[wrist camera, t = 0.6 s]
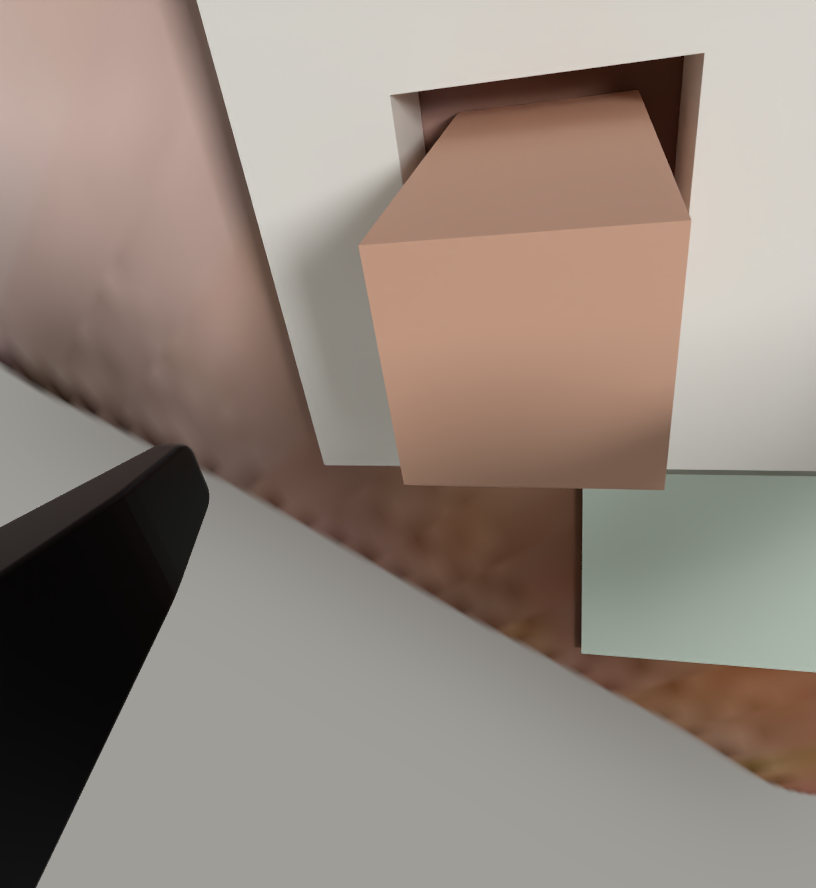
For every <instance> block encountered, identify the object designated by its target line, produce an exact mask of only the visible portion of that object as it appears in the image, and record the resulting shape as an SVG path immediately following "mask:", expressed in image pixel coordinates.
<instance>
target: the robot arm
mask: <svg viewBox="0 0 816 888" xmlns="http://www.w3.org/2000/svg"><path fill="white" fill-rule="evenodd" d="M208 504H209V490H208V487H207V484H206V482H205V480H204V477H203V475H202V472H201V470H200V467H199V465H198V462H197V460H196V458H195V455H194V453H193V451H192V450H191V449H190V448H189V447H188V446H187V445H184V444H160V445H157V446H154V447H153V448H151V449H149V450H147V451H145V452H143V453H141V454H140V455H137V456H135V457H134V458H132V459H130V460H128V461H126V462H124V463H122V464H120V465H118V466H116V467H115V468H113V469H111V470H109V471H107V472H105V473H103V474H101V475H99V476H98V477H95V478H94V479H92V480H90V481H88V482H86V483H84V484H82V485H80V486H78V487H76V488H74V489H72V490H71V491H69V492H67V493H65V494H63V495H61V496H59V497H57V498H55V499H53V500H52V501H50V502H48V503H46V504H44V505H42V506H40V507H38V508H36V509H34V510H32V511H30V512H29V513H27V514H25V515H23V516H21V517H19V518H17V519H15V520H13V521H12V522H10V523H8V524H6V525H4V526H2V527H0V888H36V886H37V884H38V882H39V880H40V878H41V876H42V874H43V872H44V870H45V868H46V866H47V864H48V862H49V859H50V857H51V855H52V853H53V851H54V849H55V847H56V845H57V843H58V841H59V839H60V836H61V834H62V832H63V830H64V828H65V826H66V824H67V822H68V820H69V818H70V816H71V814H72V812H73V809H74V807H75V805H76V803H77V801H78V799H79V797H80V795H81V793H82V791H83V788H84V787H85V784H86V782H87V780H88V778H89V776H90V774H91V772H92V770H93V768H94V766H95V763H96V762H97V759H98V757H99V755H100V753H101V751H102V749H103V747H104V745H105V743H106V741H107V739H108V736H109V734H110V732H111V730H112V728H113V726H114V724H115V722H116V720H117V718H118V716H119V714H120V711H121V709H122V707H123V705H124V703H125V701H126V699H127V697H128V695H129V692H130V691H131V689H132V686H133V684H134V682H135V680H136V678H137V676H138V674H139V672H140V670H141V668H142V666H143V663H144V661H145V659H146V657H147V655H148V653H149V651H150V649H151V647H152V645H153V643H154V640H155V639H156V636H157V634H158V632H159V630H160V628H161V626H162V624H163V622H164V620H165V617H166V615H167V613H168V611H169V609H170V607H171V605H172V603H173V600H174V598H175V595H176V593H177V591H178V588H179V585H180V583H181V580H182V578H183V575H184V572H185V569H186V566H187V564H188V560H189V558H190V555H191V552H192V549H193V547H194V544H195V541H196V538H197V535H198V533H199V530H200V527H201V524H202V521H203V519H204V516H205V513H206V510H207V508H208Z"/></svg>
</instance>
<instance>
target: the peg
mask: <svg viewBox="0 0 816 888" xmlns="http://www.w3.org/2000/svg"><path fill="white" fill-rule="evenodd" d="M690 230H691V218H690V215H689V213H688V210H687V208H686V205H685V203H684V201H683V198H682V196H681V193H680V191H679V188H678V186H677V183H676V181H675V179H674V176H673V174H672V171H671V169H670V166H669V164H668V161H667V159H666V157H665V154H664V152H663V149H662V147H661V144H660V142H659V139H658V137H657V135H656V132H655V130H654V127H653V125H652V122H651V120H650V117H649V115H648V113H647V110H646V108H645V105H644V103H643V100H642V98H641V95H640V93H639V91H638V90H634V91H626V92H618V93H610V94H602V95H594V96H586V97H578V98H570V99H561V100H553V101H545V102H537V103H529V104H521V105H513V106H505V107H497V108H489V109H481V110H473V111H465V112H458V114H457V115H456V116H455V118H454V119H453V120H452V121H451V123H450V124H449V125H448V127H447V128H446V129H445V131H444V132H443V133H442V135H441V136H440V137H439V139H438V140H437V141H436V143H435V144H434V145H433V147H432V148H431V149H430V151H429V152H428V153H427V155H426V156H425V157H424V159H423V160H422V161H421V163H420V164H419V165H418V167H417V168H416V169H415V171H414V172H413V173H412V175H411V176H410V177H409V179H408V180H407V181H406V183H405V184H404V185H403V187H402V188H401V189H400V191H399V192H398V193H397V195H396V196H395V197H394V199H393V200H392V201H391V203H390V204H389V205H388V207H387V208H386V209H385V211H384V212H383V213H382V214H381V216H380V217H379V218H378V220H377V221H376V222H375V224H374V225H373V226H372V228H371V229H370V230H369V232H368V233H367V234H366V236H365V237H364V238H363V240H362V241H361V242H360V244H359V245H358V247H359V252H360V257H361V263H362V268H363V273H364V278H365V283H366V289H367V294H368V299H369V304H370V310H371V315H372V320H373V325H374V330H375V336H376V341H377V346H378V351H379V357H380V362H381V367H382V372H383V377H384V383H385V388H386V393H387V398H388V404H389V409H390V414H391V419H392V424H393V430H394V435H395V440H396V445H397V451H398V456H399V461H400V466H401V471H402V477H403V482H404V485H427V486H477V487H527V488H577V489H627V490H665V480H666V470H667V460H668V450H669V440H670V430H671V420H672V410H673V400H674V390H675V380H676V370H677V360H678V350H679V340H680V330H681V320H682V310H683V300H684V290H685V280H686V270H687V260H688V250H689V240H690Z"/></svg>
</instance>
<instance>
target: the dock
mask: <svg viewBox="0 0 816 888" xmlns="http://www.w3.org/2000/svg"><path fill="white" fill-rule="evenodd" d="M197 4H198V7H199V11H200V15H201V18H202V22H203V26H204V29H205V33H206V37H207V40H208V44H209V47H210V51H211V55H212V58H213V62H214V66H215V69H216V73H217V77H218V80H219V84H220V87H221V91H222V95H223V98H224V102H225V106H226V109H227V113H228V117H229V120H230V124H231V127H232V131H233V135H234V138H235V142H236V146H237V149H238V153H239V157H240V160H241V164H242V167H243V171H244V175H245V178H246V182H247V186H248V189H249V193H250V197H251V200H252V204H253V207H254V211H255V215H256V218H257V222H258V226H259V229H260V233H261V237H262V240H263V244H264V247H265V251H266V255H267V258H268V262H269V266H270V269H271V273H272V277H273V280H274V284H275V288H276V291H277V295H278V298H279V302H280V306H281V309H282V313H283V317H284V320H285V324H286V328H287V331H288V335H289V338H290V342H291V346H292V349H293V353H294V357H295V360H296V364H297V368H298V371H299V375H300V378H301V382H302V386H303V389H304V393H305V397H306V400H307V404H308V408H309V411H310V415H311V418H312V422H313V426H314V429H315V433H316V437H317V440H318V444H319V448H320V451H321V455H322V458H323V462H324V465H359V466H400V461H399V456H398V451H397V445H396V440H395V435H394V430H393V424H392V419H391V414H390V409H389V404H388V398H387V393H386V388H385V383H384V377H383V372H382V367H381V362H380V357H379V351H378V346H377V341H376V336H375V330H374V325H373V320H372V315H371V310H370V304H369V299H368V294H367V289H366V283H365V278H364V273H363V268H362V263H361V257H360V252H359V247H358V245H359V244H360V242H361V241H362V240H363V238H364V237H365V236H366V234H367V233H368V232H369V230H370V229H371V228H372V226H373V225H374V224H375V222H376V221H377V220H378V218H379V217H380V216H381V214H382V213H383V212H384V211H385V209H386V208H387V207H388V205H389V204H390V203H391V201H392V200H393V199H394V197H395V196H396V195H397V193H398V192H399V191H400V189H401V188H402V187H403V185H404V184H405V183H406V181H407V180H408V179H409V177H410V176H411V175H412V173H413V172H414V171H415V169H416V168H417V167H418V165H419V164H420V163H421V161H422V160H423V159H424V157H425V156H426V152H425V144H424V136H423V127H422V119H421V111H420V103H419V95H418V91H425V90H432V89H439V88H447V87H454V86H462V85H469V84H477V83H484V82H491V81H499V80H506V79H514V78H521V77H529V76H536V75H543V74H551V73H558V72H566V71H573V70H581V69H588V68H595V67H603V66H610V65H618V64H625V63H632V62H640V61H647V60H655V59H662V58H670V57H677V56H684V65H683V77H682V89H681V101H680V114H679V126H678V138H677V150H676V162H675V174H674V179H675V181H676V183H677V186H678V188H679V191H680V193H681V196H682V198H683V201H684V203H685V205H686V208H687V210H688V213H689V215H690V218H691V230H690V240H689V250H688V260H687V270H686V280H685V290H684V300H683V310H682V320H681V330H680V340H679V350H678V360H677V370H676V380H675V390H674V400H673V410H672V420H671V430H670V440H669V450H668V460H667V469H684V470H765V471H816V0H197Z"/></svg>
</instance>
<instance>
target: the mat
mask: <svg viewBox="0 0 816 888" xmlns="http://www.w3.org/2000/svg"><path fill="white" fill-rule="evenodd" d="M581 653H583V654H595V655H608V656H620V657H633V658H645V659H657V660H670V661H682V662H695V663H707V664H719V665H732V666H744V667H757V668H769V669H782V670H794V671H806V672H816V471H765V470H684V469H667V470H666V480H665V490H627V489H583V511H582V635H581Z"/></svg>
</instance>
